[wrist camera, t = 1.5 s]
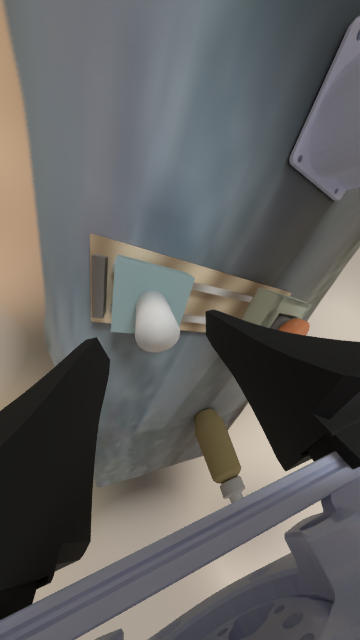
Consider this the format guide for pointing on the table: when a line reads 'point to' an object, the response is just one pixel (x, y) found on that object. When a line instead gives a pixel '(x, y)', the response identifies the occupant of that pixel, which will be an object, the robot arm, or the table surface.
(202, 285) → the rail track
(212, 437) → the squeeze bottle
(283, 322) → the button
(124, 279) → the carriage
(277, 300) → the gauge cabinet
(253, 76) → the table surface
